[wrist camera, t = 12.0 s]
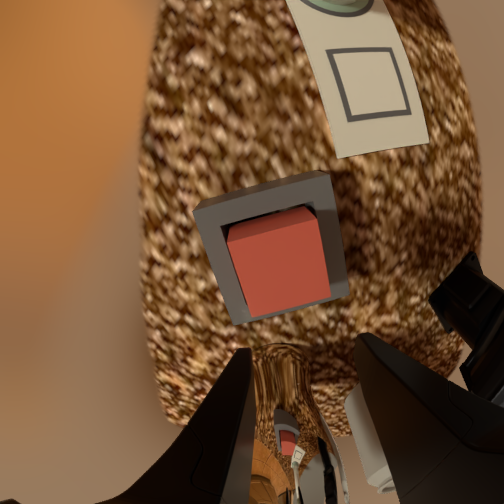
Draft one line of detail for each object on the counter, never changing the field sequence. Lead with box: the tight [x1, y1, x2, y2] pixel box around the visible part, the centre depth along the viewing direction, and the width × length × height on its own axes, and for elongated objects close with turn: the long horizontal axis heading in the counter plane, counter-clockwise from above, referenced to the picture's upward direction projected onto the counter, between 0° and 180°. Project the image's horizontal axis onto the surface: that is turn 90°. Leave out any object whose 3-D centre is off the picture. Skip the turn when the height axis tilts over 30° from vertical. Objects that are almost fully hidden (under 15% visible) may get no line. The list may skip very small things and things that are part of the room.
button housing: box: [192, 170, 350, 325], centre depth 17 cm, size 8×8×3 cm
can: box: [344, 382, 396, 494], centre depth 19 cm, size 8×8×12 cm
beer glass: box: [248, 344, 350, 504], centre depth 16 cm, size 7×7×15 cm
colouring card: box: [286, 0, 429, 158], centre depth 13 cm, size 17×8×1 cm, turn 16°
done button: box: [227, 206, 331, 317], centre depth 15 cm, size 4×4×3 cm
